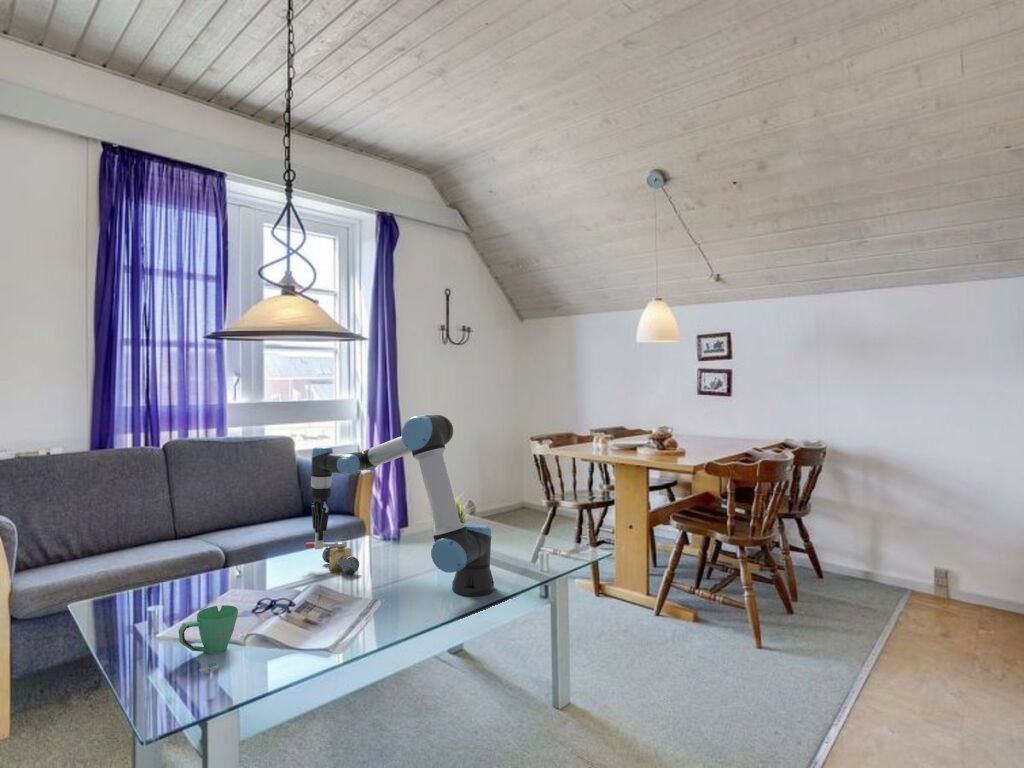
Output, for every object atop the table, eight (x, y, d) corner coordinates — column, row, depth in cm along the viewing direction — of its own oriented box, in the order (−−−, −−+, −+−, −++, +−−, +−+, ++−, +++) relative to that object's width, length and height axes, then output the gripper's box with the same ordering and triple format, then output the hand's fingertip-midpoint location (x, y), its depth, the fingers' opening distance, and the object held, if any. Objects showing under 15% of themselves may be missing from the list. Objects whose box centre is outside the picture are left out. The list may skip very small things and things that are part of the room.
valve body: (361, 573, 220) (361, 551, 220) (341, 577, 215) (342, 554, 215) (338, 561, 235) (339, 540, 235) (319, 564, 230) (320, 543, 230)
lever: (347, 545, 228) (347, 540, 228) (346, 547, 223) (346, 543, 223) (306, 545, 225) (307, 541, 225) (305, 548, 220) (305, 544, 220)
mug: (224, 638, 160) (225, 602, 160) (243, 648, 154) (245, 611, 154) (168, 657, 148) (170, 618, 148) (187, 668, 142) (189, 628, 142)
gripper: (337, 488, 219) (335, 550, 219) (323, 484, 229) (321, 543, 228) (318, 490, 215) (315, 553, 214) (305, 485, 224) (302, 546, 224)
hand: (318, 548), depth 221 cm, fingers closed
